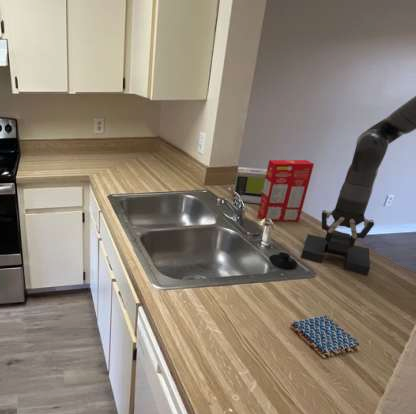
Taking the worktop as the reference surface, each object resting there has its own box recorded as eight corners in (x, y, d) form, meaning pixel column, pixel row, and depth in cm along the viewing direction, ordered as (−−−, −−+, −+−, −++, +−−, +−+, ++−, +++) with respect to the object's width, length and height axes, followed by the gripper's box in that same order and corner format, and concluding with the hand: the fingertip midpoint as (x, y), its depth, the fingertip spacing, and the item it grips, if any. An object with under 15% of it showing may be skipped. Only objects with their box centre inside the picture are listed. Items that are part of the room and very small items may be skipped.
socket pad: (366, 256, 113) (369, 248, 112) (366, 275, 103) (370, 267, 101) (305, 241, 123) (307, 233, 122) (300, 257, 112) (302, 249, 111)
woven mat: (287, 326, 83) (289, 320, 82) (322, 319, 85) (324, 313, 85) (321, 359, 74) (324, 352, 73) (360, 350, 76) (363, 344, 75)
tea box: (266, 198, 162) (272, 169, 156) (267, 205, 154) (274, 175, 148) (233, 194, 167) (238, 165, 161) (233, 201, 159) (238, 171, 153)
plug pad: (347, 242, 111) (350, 234, 110) (346, 253, 104) (349, 245, 103) (329, 237, 113) (332, 230, 112) (327, 248, 107) (330, 240, 106)
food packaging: (292, 216, 143) (306, 160, 133) (298, 221, 138) (314, 163, 128) (257, 216, 143) (269, 160, 133) (262, 221, 138) (275, 163, 128)
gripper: (325, 195, 103) (311, 242, 110) (384, 205, 95) (365, 256, 102) (327, 188, 109) (313, 234, 115) (383, 197, 101) (365, 246, 108)
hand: (338, 244), depth 109 cm, fingers closed on plug pad, 5 cm apart
